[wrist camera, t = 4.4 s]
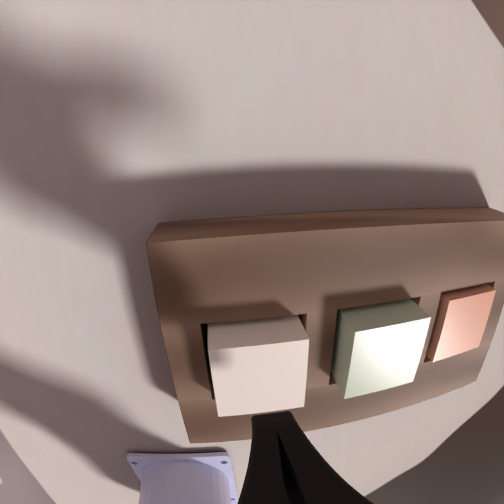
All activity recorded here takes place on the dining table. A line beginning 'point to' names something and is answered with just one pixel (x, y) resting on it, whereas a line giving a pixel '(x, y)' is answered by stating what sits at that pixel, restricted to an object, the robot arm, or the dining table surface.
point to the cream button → (258, 364)
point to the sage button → (378, 346)
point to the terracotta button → (460, 321)
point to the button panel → (318, 296)
